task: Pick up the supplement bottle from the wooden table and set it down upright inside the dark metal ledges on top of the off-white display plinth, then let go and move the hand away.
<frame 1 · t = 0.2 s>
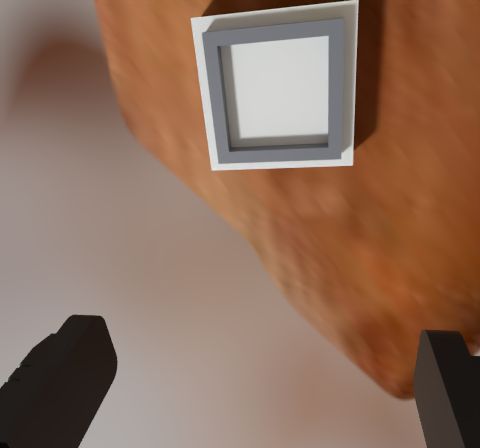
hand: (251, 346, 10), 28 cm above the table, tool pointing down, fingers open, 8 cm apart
display plinth: (279, 88, 34), on the table
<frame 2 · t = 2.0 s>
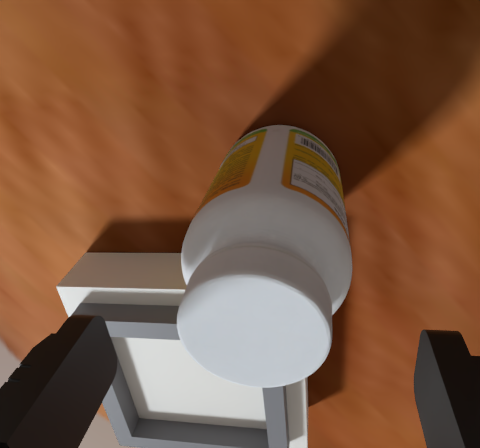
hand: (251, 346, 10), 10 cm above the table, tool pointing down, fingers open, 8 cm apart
display plinth: (205, 336, 24), on the table
supplement bottle: (280, 178, 19), on the table
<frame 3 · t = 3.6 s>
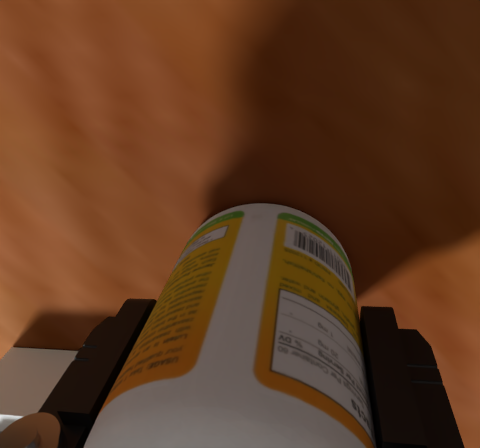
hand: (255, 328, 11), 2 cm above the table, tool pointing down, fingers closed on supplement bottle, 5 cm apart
supplement bottle: (266, 270, 13), on the table, touching gripper
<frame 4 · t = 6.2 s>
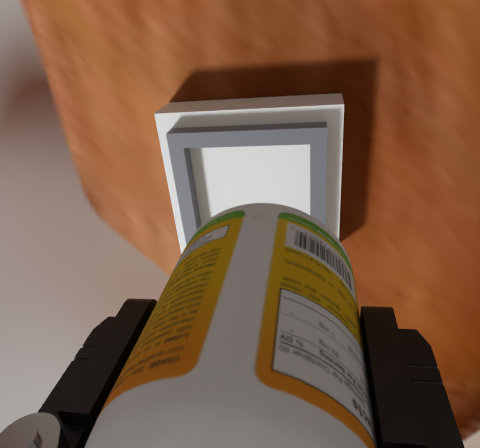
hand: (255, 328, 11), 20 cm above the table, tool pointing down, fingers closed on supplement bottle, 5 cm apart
display plinth: (257, 178, 31), on the table
supplement bottle: (267, 269, 13), point 17 cm above the table, touching gripper
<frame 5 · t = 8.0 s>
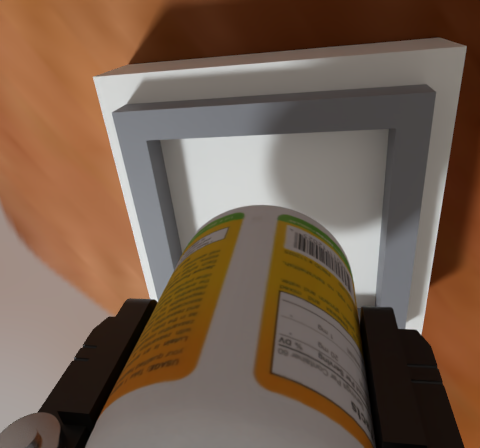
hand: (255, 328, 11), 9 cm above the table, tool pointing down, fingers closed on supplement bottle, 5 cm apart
display plinth: (279, 193, 18), on the table
supplement bottle: (266, 271, 13), point 6 cm above the table, touching gripper
when the fingers open (7 cm above the table, at t = 9.1 s): supplement bottle drops 2 cm, resting on display plinth.
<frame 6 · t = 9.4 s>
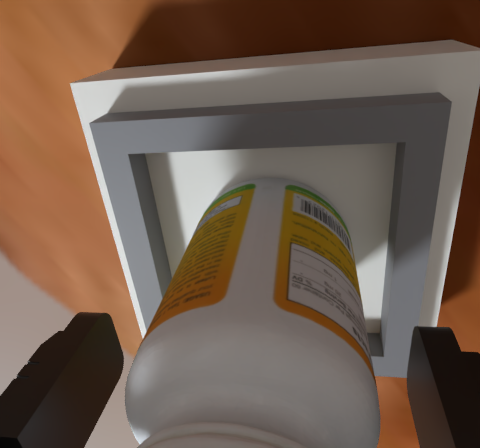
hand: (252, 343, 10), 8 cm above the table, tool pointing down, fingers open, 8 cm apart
display plinth: (277, 207, 17), on the table
supplement bottle: (273, 240, 15), point 3 cm above the table, touching display plinth
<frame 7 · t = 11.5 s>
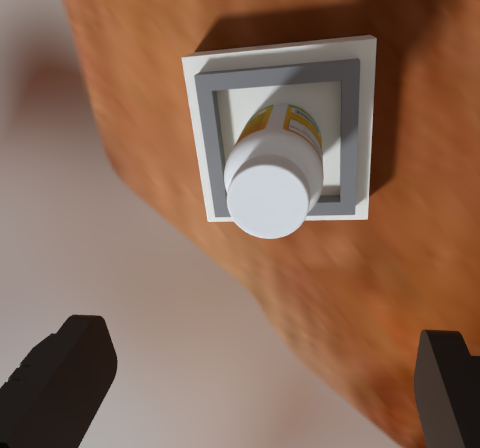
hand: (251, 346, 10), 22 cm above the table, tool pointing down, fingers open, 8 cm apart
display plinth: (283, 131, 30), on the table
supplement bottle: (281, 140, 28), point 3 cm above the table, touching display plinth
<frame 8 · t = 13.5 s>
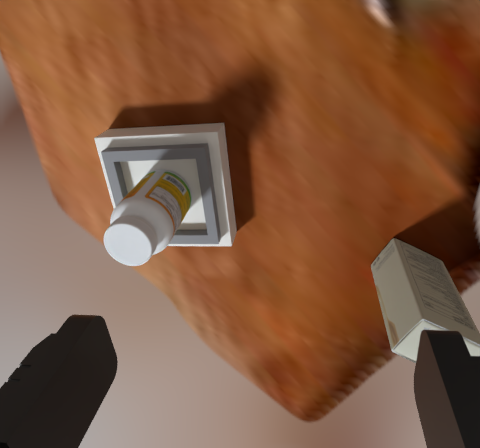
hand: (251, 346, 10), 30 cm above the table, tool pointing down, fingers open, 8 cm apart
skincare box: (406, 262, 43), on the table
display plinth: (175, 182, 42), on the table
supplement bottle: (167, 192, 40), point 3 cm above the table, touching display plinth
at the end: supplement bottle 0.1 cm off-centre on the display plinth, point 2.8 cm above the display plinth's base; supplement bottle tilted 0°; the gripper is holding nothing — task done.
